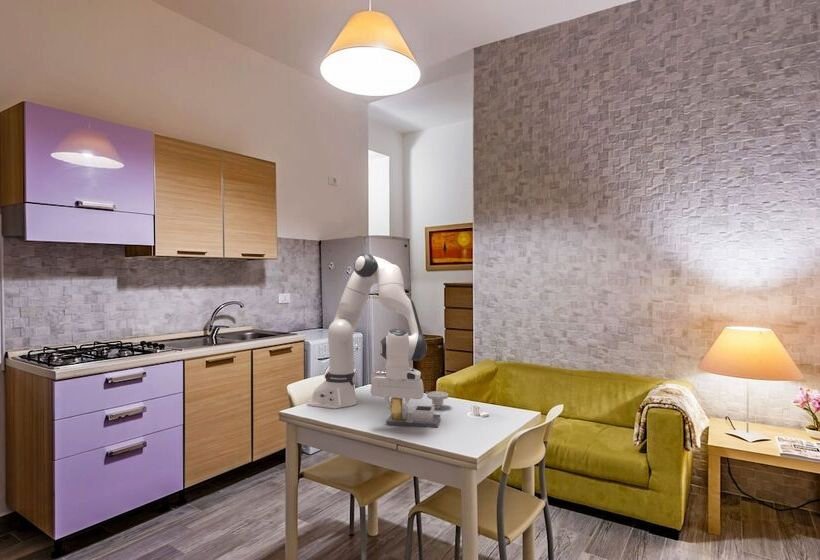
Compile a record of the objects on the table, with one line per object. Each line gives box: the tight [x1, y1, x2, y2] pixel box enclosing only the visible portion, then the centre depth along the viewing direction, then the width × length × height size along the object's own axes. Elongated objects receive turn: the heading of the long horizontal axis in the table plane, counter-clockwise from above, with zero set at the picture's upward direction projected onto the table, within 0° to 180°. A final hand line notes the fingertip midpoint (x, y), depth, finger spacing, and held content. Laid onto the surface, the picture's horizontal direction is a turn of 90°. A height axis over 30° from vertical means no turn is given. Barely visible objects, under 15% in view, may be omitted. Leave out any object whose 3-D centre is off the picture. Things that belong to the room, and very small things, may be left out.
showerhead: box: [425, 390, 449, 410], centre depth 203 cm, size 9×7×10 cm
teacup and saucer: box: [466, 404, 489, 419], centre depth 193 cm, size 9×8×4 cm
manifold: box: [385, 404, 441, 429], centre depth 184 cm, size 20×12×6 cm, turn 80°
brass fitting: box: [390, 397, 404, 421], centre depth 174 cm, size 4×4×8 cm
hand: (396, 408), depth 174 cm, fingers closed on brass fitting, 4 cm apart
